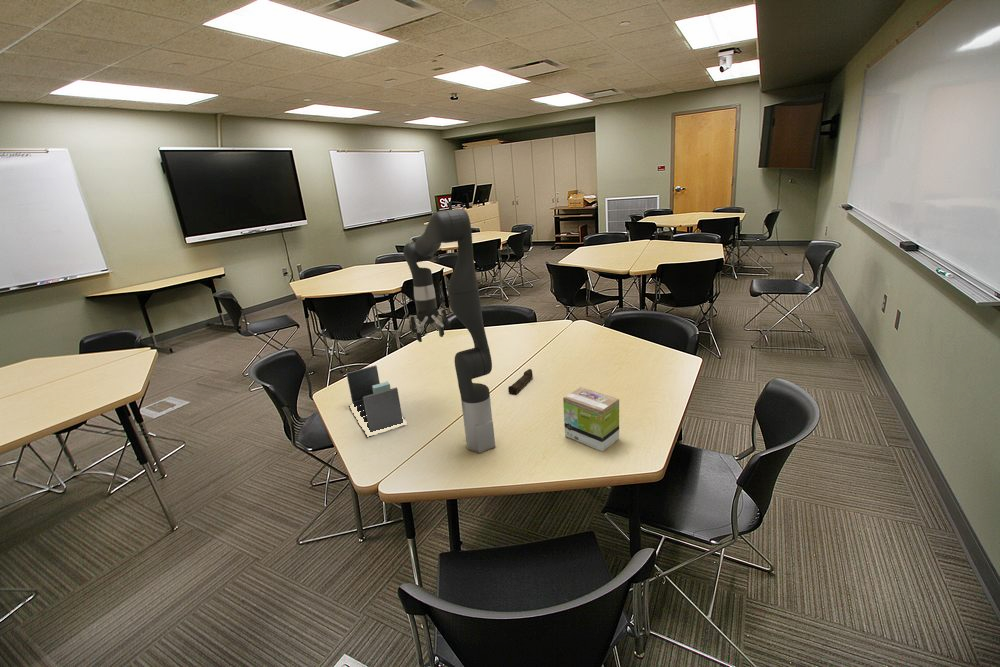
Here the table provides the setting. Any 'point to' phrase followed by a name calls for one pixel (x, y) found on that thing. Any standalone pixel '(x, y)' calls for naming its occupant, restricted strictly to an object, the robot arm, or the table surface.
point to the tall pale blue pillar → (381, 387)
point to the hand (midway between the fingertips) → (430, 339)
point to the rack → (374, 399)
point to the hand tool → (520, 382)
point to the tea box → (591, 418)
